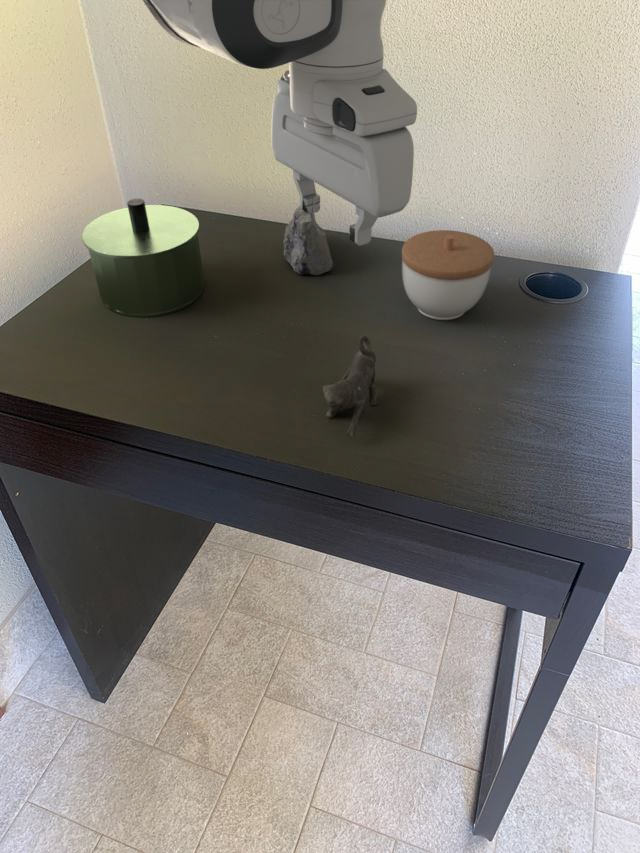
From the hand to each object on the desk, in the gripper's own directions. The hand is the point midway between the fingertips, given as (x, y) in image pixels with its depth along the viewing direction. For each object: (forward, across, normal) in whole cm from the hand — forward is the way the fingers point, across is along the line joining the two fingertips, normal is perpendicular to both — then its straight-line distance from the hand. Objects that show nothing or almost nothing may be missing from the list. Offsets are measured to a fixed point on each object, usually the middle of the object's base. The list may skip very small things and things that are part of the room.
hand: (334, 225), depth 74 cm
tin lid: (+11, -34, -10) cm, 37 cm away
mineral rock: (+21, -29, +16) cm, 39 cm away
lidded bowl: (+20, -5, +23) cm, 31 cm away
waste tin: (+21, -34, -10) cm, 41 cm away
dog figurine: (+21, +6, -2) cm, 22 cm away
